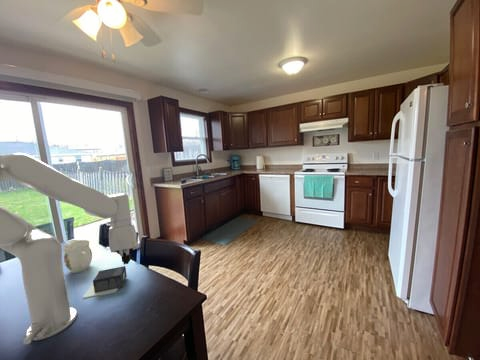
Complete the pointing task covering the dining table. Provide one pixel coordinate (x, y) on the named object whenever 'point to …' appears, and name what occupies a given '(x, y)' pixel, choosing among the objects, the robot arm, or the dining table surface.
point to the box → (109, 279)
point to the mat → (91, 292)
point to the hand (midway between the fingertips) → (126, 262)
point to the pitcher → (77, 255)
